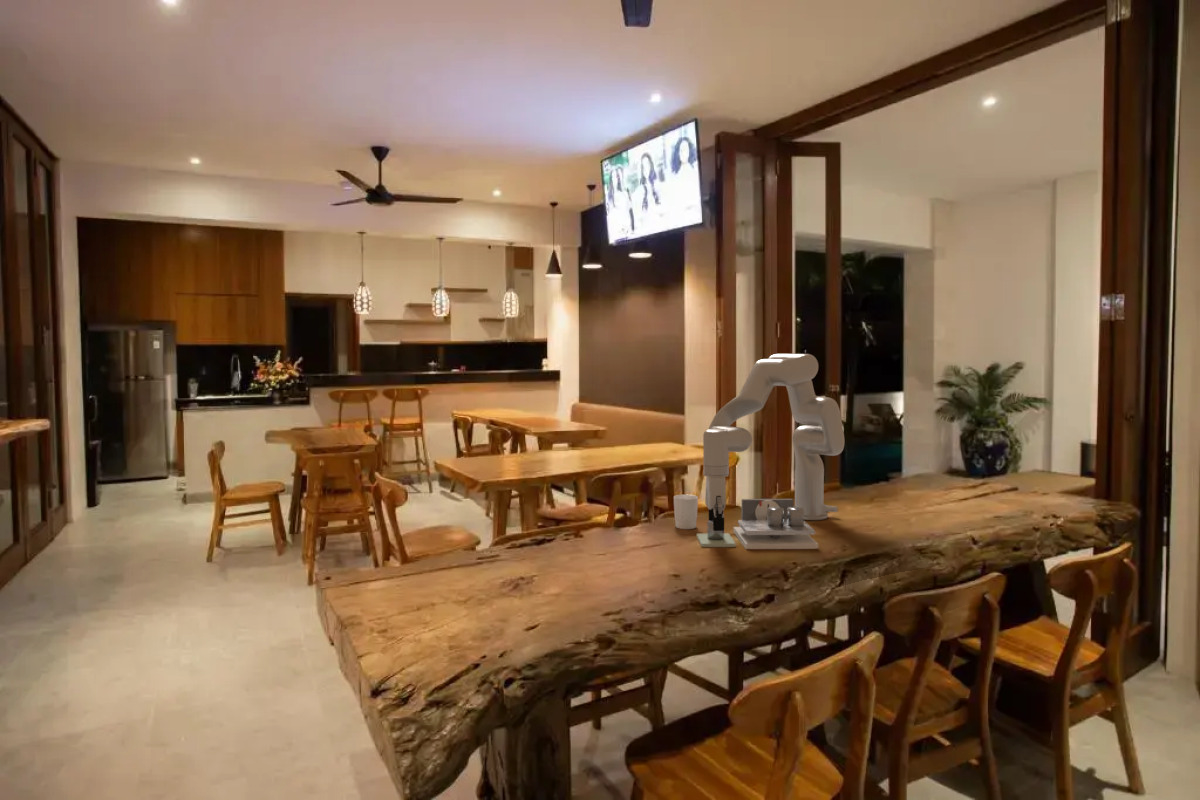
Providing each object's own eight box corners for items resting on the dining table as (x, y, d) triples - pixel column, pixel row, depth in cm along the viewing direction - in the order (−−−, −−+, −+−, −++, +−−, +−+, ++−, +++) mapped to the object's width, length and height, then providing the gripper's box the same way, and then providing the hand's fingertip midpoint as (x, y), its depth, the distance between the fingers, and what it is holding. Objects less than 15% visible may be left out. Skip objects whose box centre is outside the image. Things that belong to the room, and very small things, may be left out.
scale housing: (799, 531, 239) (799, 498, 239) (817, 548, 218) (818, 513, 218) (733, 531, 240) (733, 498, 239) (745, 549, 219) (745, 513, 218)
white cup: (669, 525, 248) (669, 495, 248) (690, 523, 251) (690, 493, 251) (680, 530, 241) (680, 499, 240) (702, 528, 244) (702, 498, 243)
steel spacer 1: (781, 523, 229) (782, 506, 229) (785, 527, 224) (785, 510, 224) (765, 523, 229) (765, 507, 229) (768, 527, 224) (768, 510, 224)
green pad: (728, 536, 233) (728, 533, 233) (735, 546, 221) (735, 543, 221) (696, 536, 233) (696, 533, 233) (701, 547, 221) (701, 543, 221)
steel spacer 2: (801, 523, 229) (801, 506, 229) (805, 527, 224) (806, 510, 224) (785, 523, 229) (785, 507, 229) (789, 527, 224) (789, 510, 224)
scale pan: (802, 523, 234) (802, 519, 234) (815, 534, 220) (815, 530, 220) (738, 523, 234) (738, 520, 234) (746, 535, 220) (746, 530, 220)
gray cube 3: (722, 536, 230) (722, 520, 229) (725, 540, 225) (725, 523, 224) (706, 536, 230) (706, 520, 229) (708, 540, 225) (708, 524, 224)
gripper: (700, 465, 234) (700, 520, 236) (707, 475, 217) (707, 534, 218) (724, 465, 234) (724, 519, 236) (733, 475, 217) (733, 533, 218)
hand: (716, 526), depth 227 cm, fingers open, 9 cm apart
